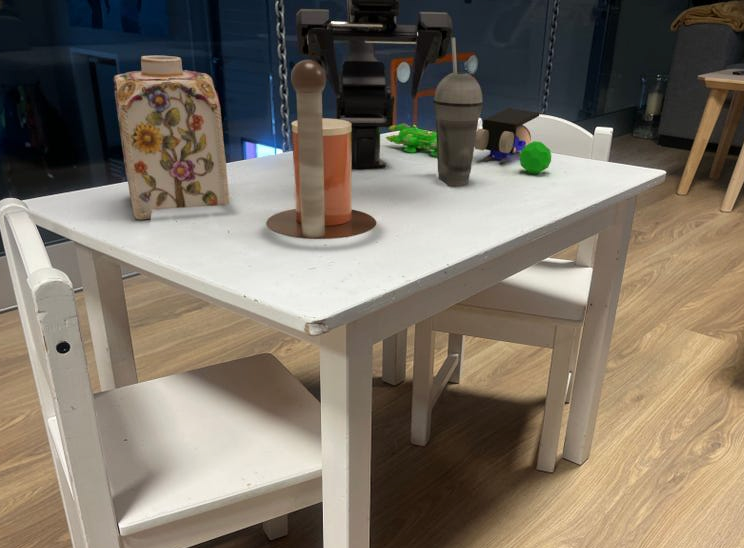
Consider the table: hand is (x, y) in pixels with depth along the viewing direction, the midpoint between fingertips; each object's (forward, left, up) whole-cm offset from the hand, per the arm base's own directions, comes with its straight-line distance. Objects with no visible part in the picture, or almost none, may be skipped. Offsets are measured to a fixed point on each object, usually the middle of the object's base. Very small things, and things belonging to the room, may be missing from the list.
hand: (376, 96), depth 87 cm
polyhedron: (-18, +30, -14) cm, 38 cm away
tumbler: (+5, -8, -13) cm, 16 cm away
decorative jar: (-8, -25, -14) cm, 30 cm away
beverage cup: (-14, +15, -14) cm, 25 cm away
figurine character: (-30, +30, -14) cm, 45 cm away
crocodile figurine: (-36, +18, -14) cm, 43 cm away
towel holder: (+7, -8, -14) cm, 18 cm away
